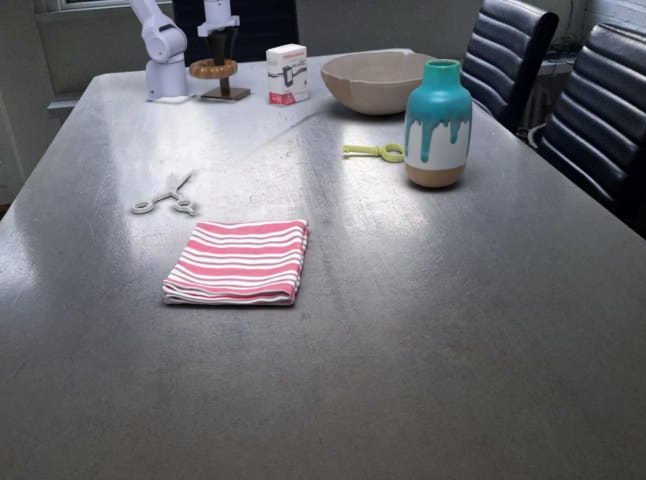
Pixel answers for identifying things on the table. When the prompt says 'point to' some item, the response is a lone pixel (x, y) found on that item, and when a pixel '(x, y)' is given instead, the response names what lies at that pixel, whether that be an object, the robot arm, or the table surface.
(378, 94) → the bowl
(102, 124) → the table surface
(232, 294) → the dish towel
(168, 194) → the scissors
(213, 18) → the robot arm
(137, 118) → the table surface
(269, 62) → the ink box
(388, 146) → the key
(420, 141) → the vase
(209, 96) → the brown peg stand
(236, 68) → the brown beaded ring
